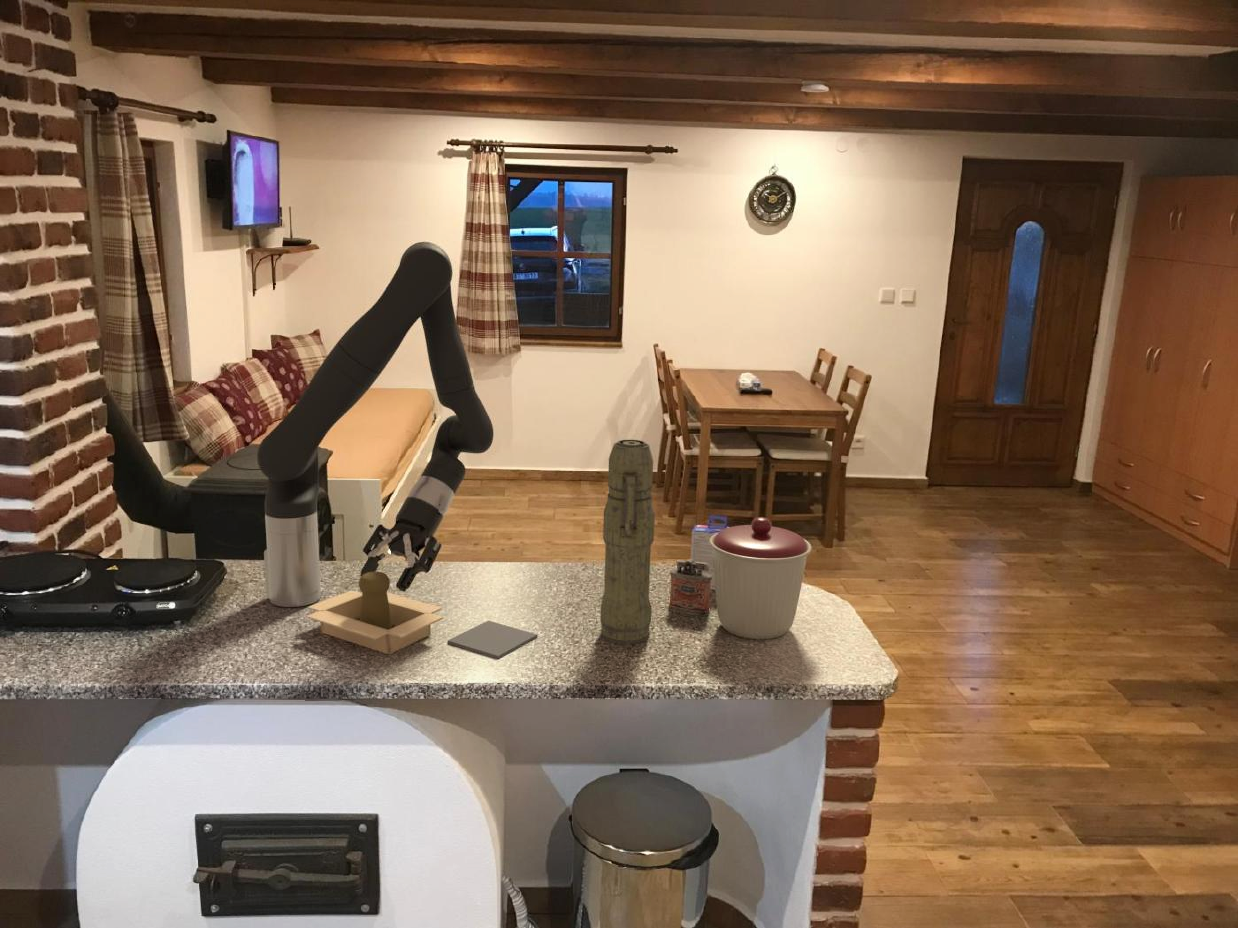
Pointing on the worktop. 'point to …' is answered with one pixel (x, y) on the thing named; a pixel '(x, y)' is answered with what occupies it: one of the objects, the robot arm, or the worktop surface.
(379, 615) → the cork
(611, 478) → the thermos
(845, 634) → the worktop surface
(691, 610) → the lighter
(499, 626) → the mat
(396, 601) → the carton
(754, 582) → the canister
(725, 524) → the ink cartridge box
